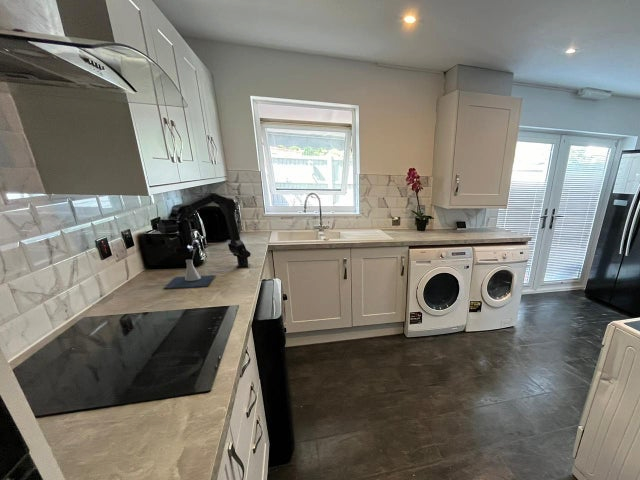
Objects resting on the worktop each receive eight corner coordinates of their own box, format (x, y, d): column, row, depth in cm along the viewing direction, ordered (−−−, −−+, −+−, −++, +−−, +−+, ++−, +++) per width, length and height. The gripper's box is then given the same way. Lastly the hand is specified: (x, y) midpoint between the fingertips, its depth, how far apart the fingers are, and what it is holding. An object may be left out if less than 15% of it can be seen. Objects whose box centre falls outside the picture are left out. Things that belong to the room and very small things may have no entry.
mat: (176, 277, 168) (176, 276, 168) (215, 276, 173) (214, 275, 173) (164, 289, 152) (164, 288, 152) (207, 286, 158) (207, 285, 157)
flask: (185, 277, 167) (181, 258, 163) (201, 275, 170) (198, 257, 166) (183, 282, 161) (179, 263, 157) (200, 280, 164) (196, 261, 160)
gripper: (172, 228, 165) (178, 258, 170) (158, 235, 148) (165, 268, 154) (196, 228, 168) (201, 258, 173) (186, 235, 151) (192, 267, 157)
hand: (190, 262), depth 164 cm, fingers closed
